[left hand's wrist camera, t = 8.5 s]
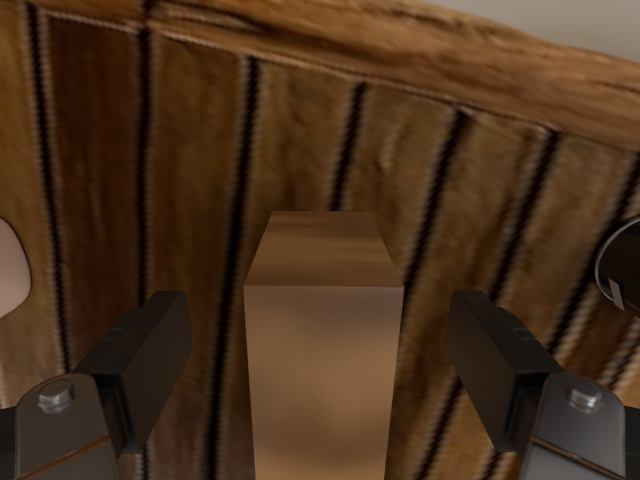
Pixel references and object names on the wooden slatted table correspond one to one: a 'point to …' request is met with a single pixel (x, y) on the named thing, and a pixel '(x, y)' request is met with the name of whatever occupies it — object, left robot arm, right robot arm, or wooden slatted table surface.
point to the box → (321, 346)
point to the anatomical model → (12, 271)
